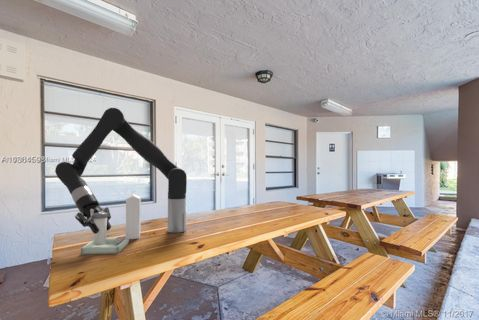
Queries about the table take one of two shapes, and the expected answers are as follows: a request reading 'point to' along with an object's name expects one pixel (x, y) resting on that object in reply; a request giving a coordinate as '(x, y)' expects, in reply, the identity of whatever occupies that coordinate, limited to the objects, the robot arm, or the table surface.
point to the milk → (133, 216)
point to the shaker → (100, 228)
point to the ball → (118, 240)
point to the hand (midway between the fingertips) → (103, 230)
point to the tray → (105, 247)
